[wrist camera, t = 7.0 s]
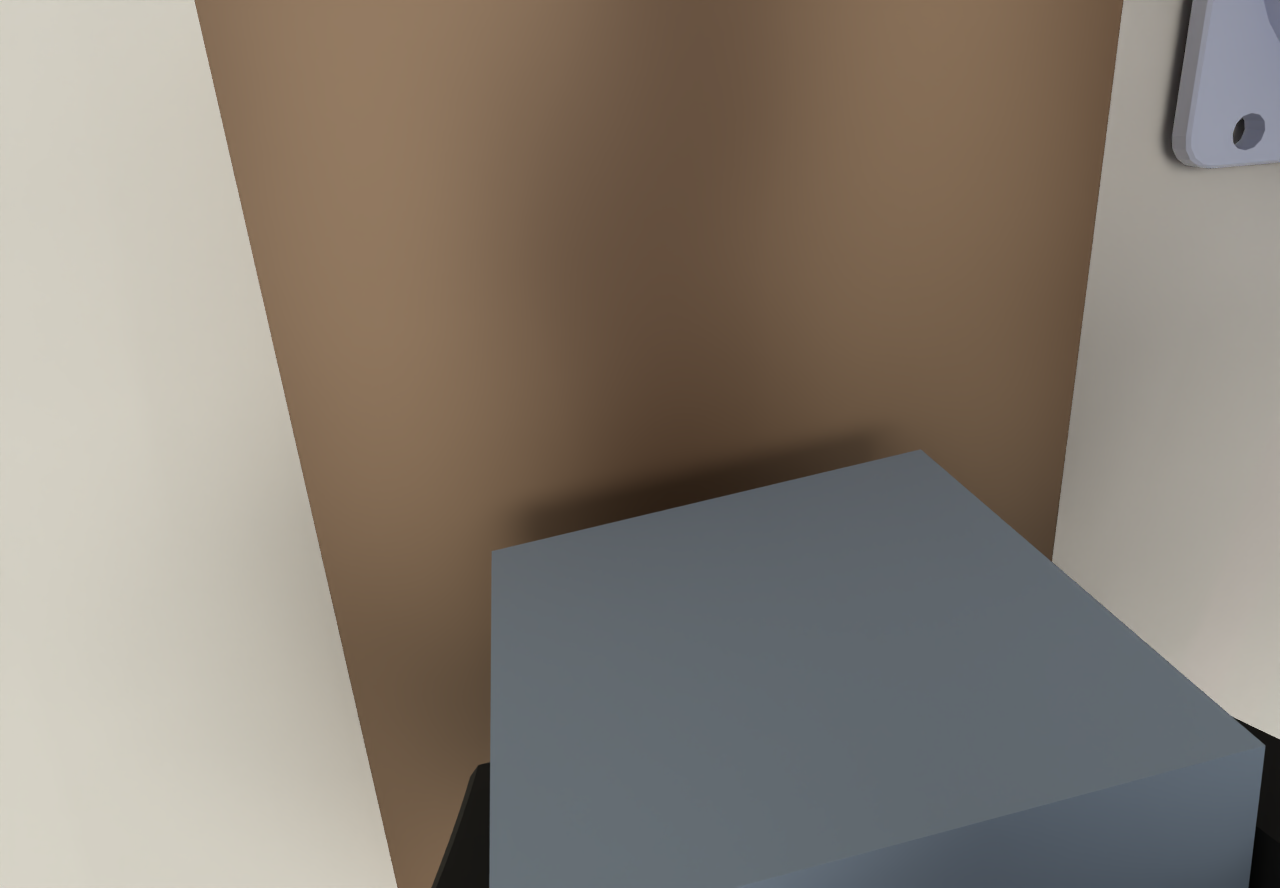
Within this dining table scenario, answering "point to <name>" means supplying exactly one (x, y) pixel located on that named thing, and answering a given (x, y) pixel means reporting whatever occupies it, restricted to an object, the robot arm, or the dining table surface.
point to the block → (844, 706)
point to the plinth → (642, 285)
